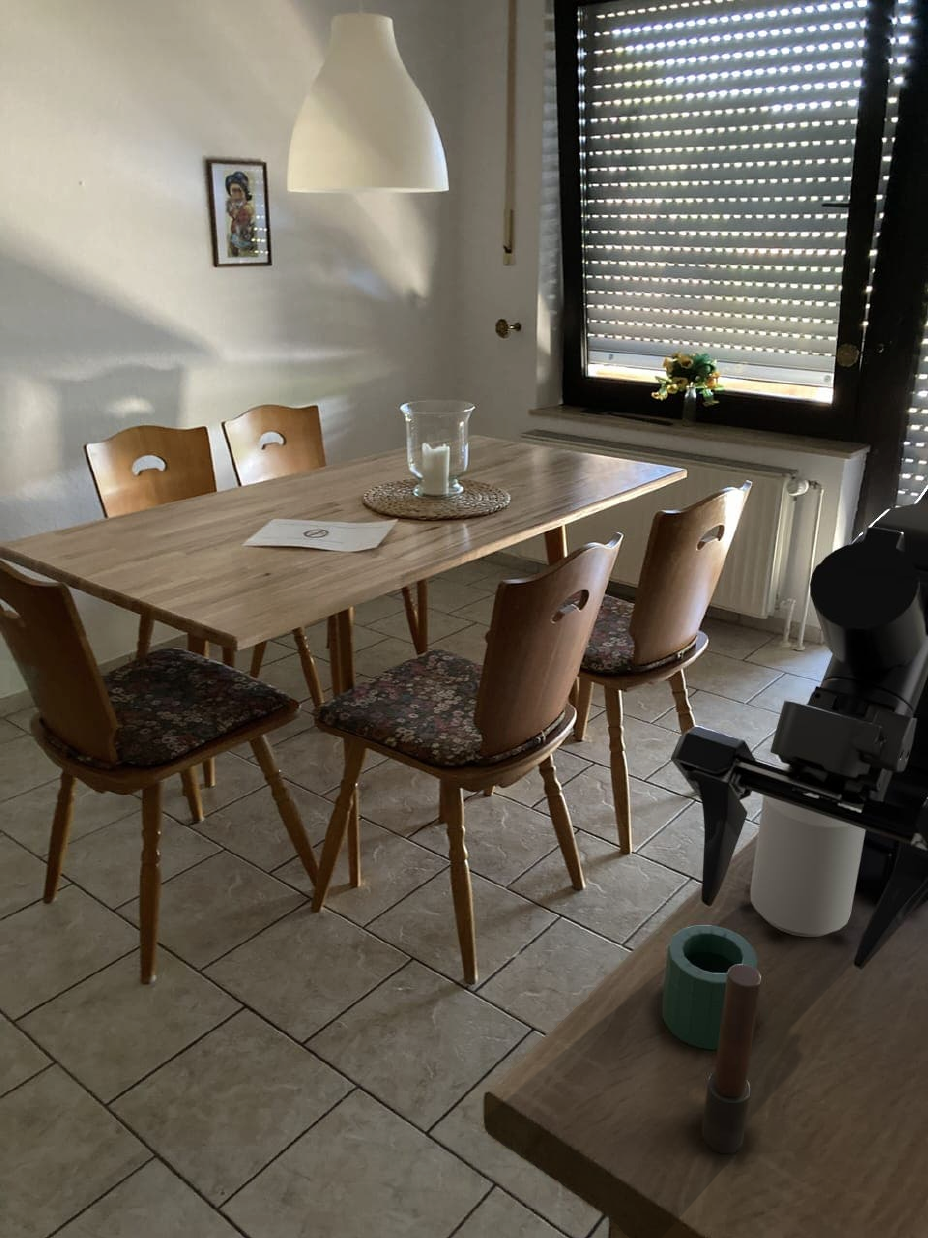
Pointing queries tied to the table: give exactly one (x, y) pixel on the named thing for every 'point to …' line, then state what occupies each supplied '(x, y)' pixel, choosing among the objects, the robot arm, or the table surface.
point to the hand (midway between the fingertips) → (778, 934)
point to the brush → (732, 1063)
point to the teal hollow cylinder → (700, 981)
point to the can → (805, 868)
